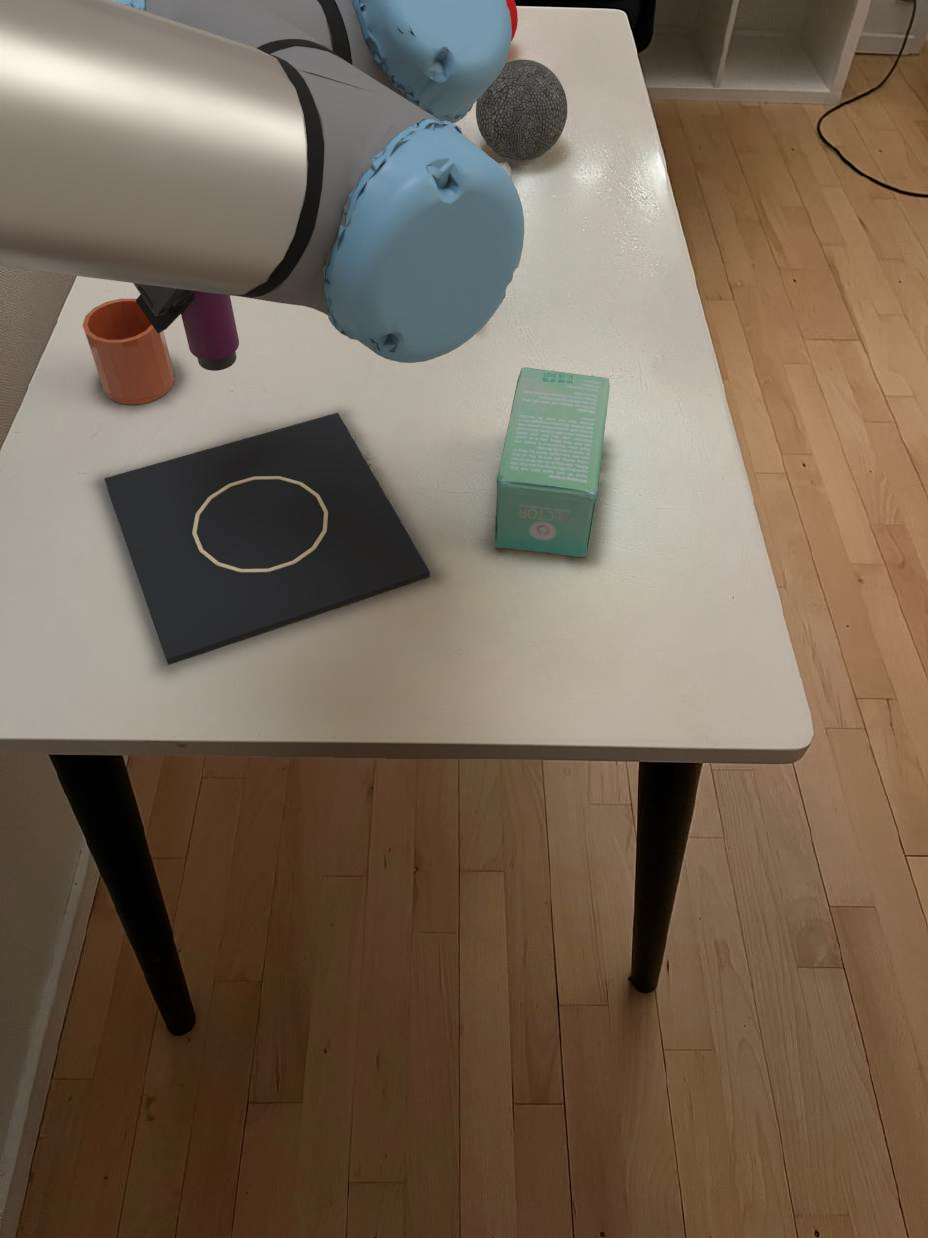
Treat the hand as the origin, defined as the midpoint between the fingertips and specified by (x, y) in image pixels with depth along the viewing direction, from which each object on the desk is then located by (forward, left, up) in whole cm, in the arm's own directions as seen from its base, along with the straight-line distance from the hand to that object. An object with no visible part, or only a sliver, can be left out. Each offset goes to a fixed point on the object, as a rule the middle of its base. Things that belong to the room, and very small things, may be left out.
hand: (174, 301), depth 77 cm
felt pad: (+1, -11, -14) cm, 18 cm away
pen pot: (-3, +11, -14) cm, 18 cm away
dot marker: (+2, -4, -3) cm, 5 cm away
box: (+23, -17, -14) cm, 32 cm away
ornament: (+52, +58, -14) cm, 80 cm away
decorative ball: (+45, +34, -14) cm, 58 cm away
